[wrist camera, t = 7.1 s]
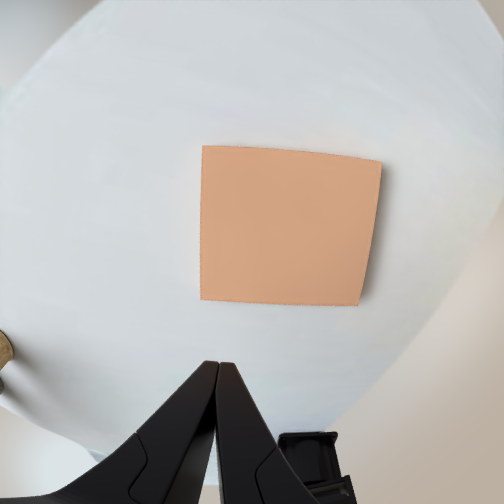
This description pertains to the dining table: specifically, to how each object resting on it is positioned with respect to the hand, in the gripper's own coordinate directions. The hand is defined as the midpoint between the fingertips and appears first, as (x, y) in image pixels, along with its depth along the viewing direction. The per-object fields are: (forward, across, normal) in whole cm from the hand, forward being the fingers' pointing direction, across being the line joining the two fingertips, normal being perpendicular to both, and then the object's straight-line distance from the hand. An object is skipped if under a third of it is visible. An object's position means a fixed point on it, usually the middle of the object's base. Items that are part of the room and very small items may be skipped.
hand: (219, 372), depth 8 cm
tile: (+12, -3, -1) cm, 13 cm away
